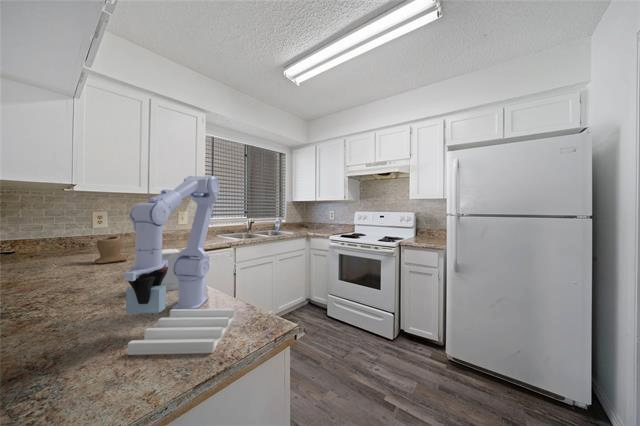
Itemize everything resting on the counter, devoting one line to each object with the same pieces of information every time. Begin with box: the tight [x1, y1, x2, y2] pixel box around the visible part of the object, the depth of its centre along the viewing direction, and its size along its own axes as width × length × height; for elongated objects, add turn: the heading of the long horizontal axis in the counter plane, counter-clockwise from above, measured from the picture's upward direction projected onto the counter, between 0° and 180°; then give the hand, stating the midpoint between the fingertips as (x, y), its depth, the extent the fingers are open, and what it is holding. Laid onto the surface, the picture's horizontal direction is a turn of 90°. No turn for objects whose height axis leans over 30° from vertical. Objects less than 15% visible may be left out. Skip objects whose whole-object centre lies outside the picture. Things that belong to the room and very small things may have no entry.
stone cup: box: [93, 235, 129, 264], centre depth 138 cm, size 15×12×15 cm
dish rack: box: [126, 308, 236, 356], centre depth 63 cm, size 18×18×2 cm
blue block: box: [125, 286, 167, 314], centre depth 63 cm, size 3×8×6 cm, turn 94°
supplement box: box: [161, 248, 181, 292], centre depth 96 cm, size 9×9×15 cm
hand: (147, 300), depth 63 cm, fingers closed on blue block, 3 cm apart
